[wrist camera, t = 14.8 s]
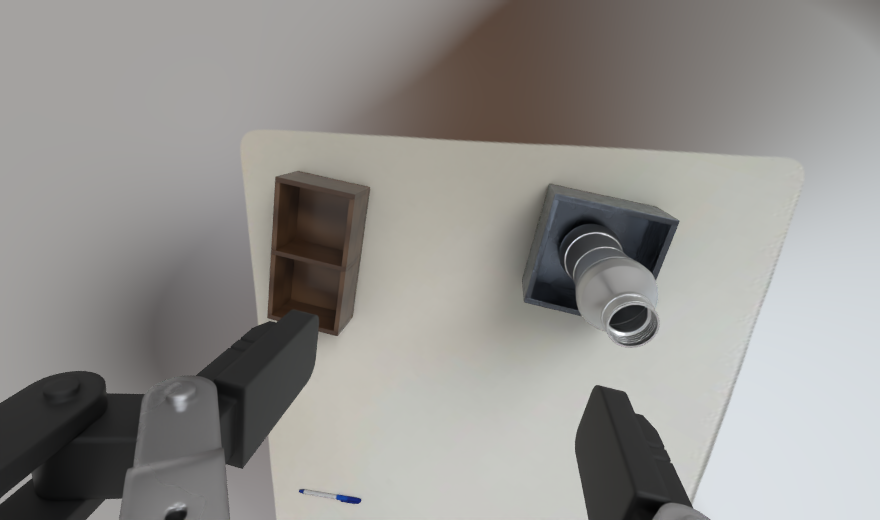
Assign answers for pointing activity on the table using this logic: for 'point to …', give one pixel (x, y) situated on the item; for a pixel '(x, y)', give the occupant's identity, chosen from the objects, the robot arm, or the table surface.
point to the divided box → (316, 248)
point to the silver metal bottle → (610, 285)
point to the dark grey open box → (567, 208)
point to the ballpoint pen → (332, 496)
